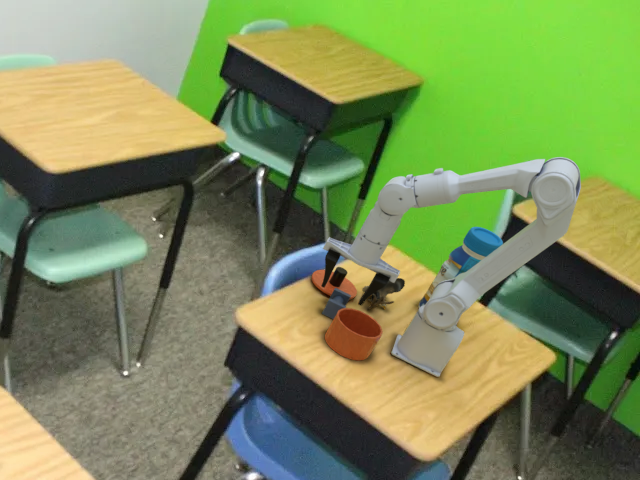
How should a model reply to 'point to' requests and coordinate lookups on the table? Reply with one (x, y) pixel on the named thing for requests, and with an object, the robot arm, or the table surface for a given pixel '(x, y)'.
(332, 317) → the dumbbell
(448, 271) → the beverage bottle
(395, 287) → the eagle figurine
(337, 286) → the lid
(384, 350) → the table surface
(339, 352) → the pot
